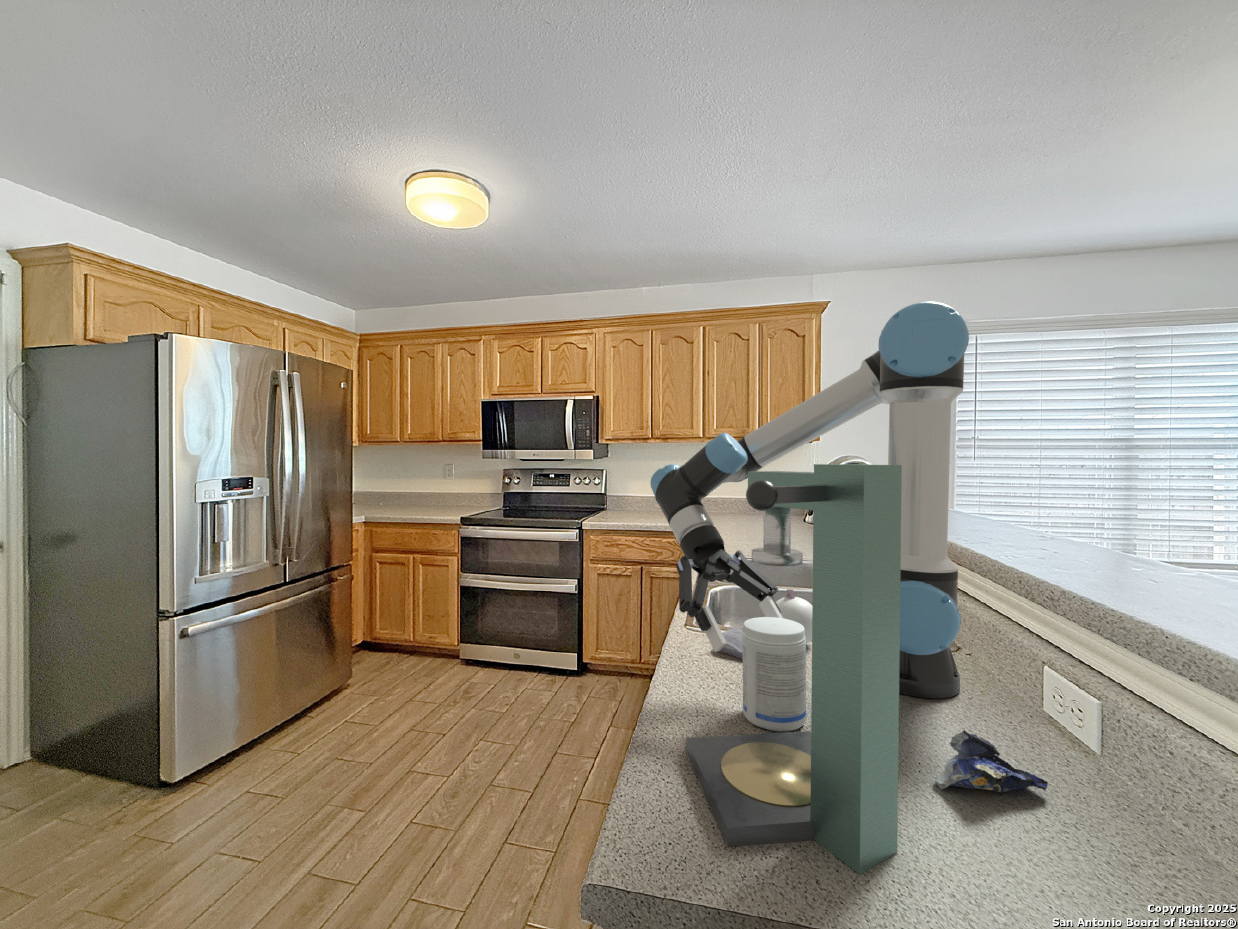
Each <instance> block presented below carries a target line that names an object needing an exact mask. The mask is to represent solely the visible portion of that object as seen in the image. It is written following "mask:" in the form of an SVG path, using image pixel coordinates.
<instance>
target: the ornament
mask: <svg viewBox="0 0 1238 929" xmlns="http://www.w3.org/2000/svg"><path fill="white" fill-rule="evenodd" d="M775 602H776V603H777V606H778V607H779V608H780V610H781V615H782V617H783V619H788V620H792V621H795V622H798V623H800V624H801V625H802V626H803V627H804V629H805V639H806V645H807V644H808V643H810V642H812V604H811V603H810V602H809V601H808V600H806V599H804V598H801V597H798V596H795V593H794V589H792V588H787V589H786V593H785V596H784V597H781V598H779V599H778V600H775Z"/></svg>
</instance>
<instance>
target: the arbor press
mask: <svg viewBox="0 0 1238 929" xmlns="http://www.w3.org/2000/svg"><path fill="white" fill-rule="evenodd" d="M901 487H902V465H888V464H861V463H860V464H858V463H857V464H853V463H851V464H849V463H848V464H844V463H843V464H842V463H841V464H838V463H837V464H835V463H833V464H832V463H831V464H829V463H826V464H825V463H821V464H819V463H815V464H813V471H786V470H785V471H784V470H783V471H780V470H763V471H762V470H758V471H748V478H747V489H746V492H745V499H746V502H747V504H748V505H749V506H750V507H751V508H752V509H753V510H755V511H759V512H760V511H761V512H763V541H762V542H763V547H756V548H752V549H751V561H752V562H753V563H755V564H759V565H762V566H763V565H765V566H771V567H796V566H800V565H803V564H804V563H803V561H804V559H803V556H804V553H803V552H802V551H801V550H797V549H793V548H791V547H792V546H791V545H792V544H791V543H792V540H791V539H792V538H791V537H792V536H791V535H792V528H791V527H792V509H796V510H802V511H803V510H804V511H813V512H812V513H813V514H812V515H813V520H812V522H813V523H812V525H813V526H812V528H813V529H812V531H813V532H812V602H811V603H812V604H811V605H812V640H811V647H812V648H811V707H810V708H811V710H810V712H811V715H810V716H811V720H810V723H811V724H810V727H811V728H810V729H811V730H805V731H804V730H803V731H801V730H800V731H782V732H771V733H770V732H769V733H753V734H752V733H750V734H733V735H732V734H731V735H729V734H728V735H714V736H698V737H697V736H696V737H685V754H686V756H687V759H688V761H689V763H690V766H691V768H692V770H693V772H694V775H695V776H696V779H697V782H698V783H699V785H700V788H701V791H702V793H703V795H704V797H705V800H706V802H707V805H708V806H709V808H710V810H711V814H712V815H713V816H712V817H714V818H713V819H714V821H715V822H716V825H717V827H718V829H719V831H720V833H721V836H722V839H723V842H724V843H725V844H726V847H740V846H741V847H742V846H753V845H764V844H777V843H790V842H791V843H792V842H801V841H815V842H816V843H818V844H819V845H820V846H822V847H823V848H824V849H825V850H827V851H829V852H830V853H831V854H832V855H833V856H835V857H836V858H837V859H839V860H840V861H841V862H843V863H844V864H845V865H847V866H848V867H849V868H850V869H852V870H853V871H855V872H856V873H857V874H858V875H862V874H863V873H866V872H867V871H868V870H870V869H871V868H873V867H875V866H877V865H878V864H879V865H880V863H882V862H883V861H886V860H887V859H889V858H890V857H892V856H894V855H896V854H898V830H899V829H898V828H899V827H898V826H899V824H898V819H899V818H898V817H899V814H898V813H899V811H898V810H899V806H898V805H899V740H900V738H899V736H900V735H899V733H900V732H899V731H900V730H899V728H900V727H899V724H900V721H899V720H900V718H899V717H900V693H899V659H900V573H901Z"/></svg>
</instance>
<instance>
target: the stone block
mask: <svg viewBox="0 0 1238 929" xmlns="http://www.w3.org/2000/svg"><path fill="white" fill-rule="evenodd" d="M742 632H743V629H740V628H739V627H731V628H730V629H728V630H725V631H723V632H722V634H723V636H724V638H725V640H726V642H727V643H726V644H725V645H724V646H723V647H722V648H721V649H720V651H719V652H721V653H725V654H727V655H731V656H733V657H735V656H736V658H738V657H739V659H742V660H743V650H742V640H743V638H742V635H743V633H742Z"/></svg>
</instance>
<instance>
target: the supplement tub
mask: <svg viewBox="0 0 1238 929" xmlns="http://www.w3.org/2000/svg"><path fill="white" fill-rule="evenodd" d="M742 631H743V632H742V633H743V635H742V638H743V640H742V650H743V659H742V712H743V715H744V717H745V718H746V719H747V721H748V722H750V723H751V724H753V725H754V726H756V727H759V728H762V729H765V730H768V731H772V732H793V731H794V730H795V731H796V730H798V729H799V728H802V727H803V726H804V725H805V724H806V720H807V644H806V639H805V629H804V627H803V626H802V625H801V624H800V623H798V622H795V621H792V620H788V619H783V618H775V617H765V616H762V617H761V616H760V617H753V618H748V619H746V620H745V621H744V622H743V624H742Z"/></svg>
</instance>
